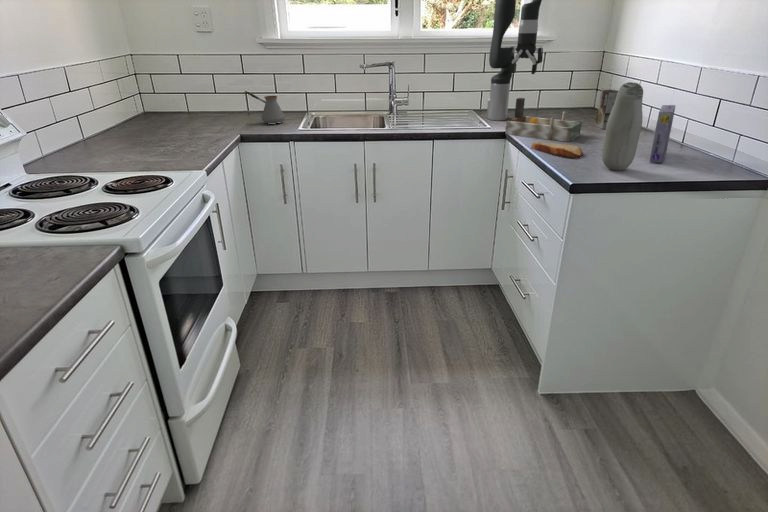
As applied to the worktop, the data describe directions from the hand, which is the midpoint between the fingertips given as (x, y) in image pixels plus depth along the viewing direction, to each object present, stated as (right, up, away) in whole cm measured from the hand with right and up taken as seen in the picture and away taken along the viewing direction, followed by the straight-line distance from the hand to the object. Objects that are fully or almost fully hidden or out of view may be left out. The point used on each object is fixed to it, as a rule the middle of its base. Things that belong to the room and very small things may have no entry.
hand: (523, 73), depth 210 cm
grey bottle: (+19, -49, -43) cm, 68 cm away
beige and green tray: (+9, -25, +5) cm, 27 cm away
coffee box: (+43, -19, +17) cm, 49 cm away
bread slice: (+6, -39, -22) cm, 45 cm away
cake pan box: (+40, -42, -31) cm, 66 cm away
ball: (+6, -19, +5) cm, 21 cm away
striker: (0, -19, +10) cm, 21 cm away
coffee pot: (-120, -11, +38) cm, 126 cm away
